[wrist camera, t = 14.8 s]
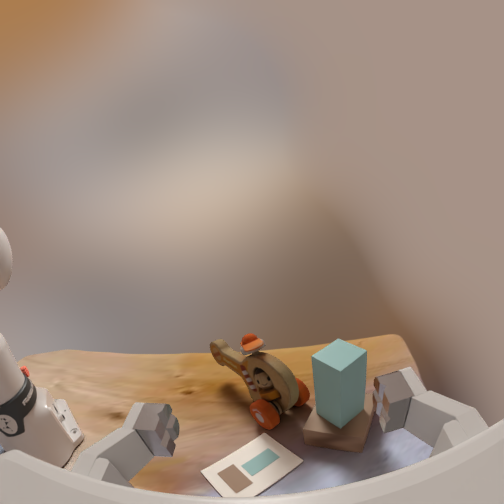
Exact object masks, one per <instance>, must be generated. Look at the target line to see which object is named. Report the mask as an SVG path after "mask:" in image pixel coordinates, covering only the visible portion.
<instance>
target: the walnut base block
mask: <svg viewBox="0 0 504 504" xmlns="http://www.w3.org/2000/svg"><path fill="white" fill-rule="evenodd" d="M372 398H373V394H367V393H365V400H364V409H363V410H362V411H361V412H360V413H359V414H357V415H356V416H355V417H354V418H353V419H352V420H350V421H349V422H348V423H347V424H346V425H344V426H343V427H342V428H341V429H340V428H338V427H337V426H335V425H334V424H332V423H331V422H329V421H328V420H326V419H325V418H323V417H322V416H320V415H319V414H317V413H316V404H315V406H314V408H313V410H312V412H311V414H310V416H309V418H308V420H307V422H306V423H305V425H304V427H303V435H304V442H305V444H306V445H311V446H317V447H323V448H329V449H335V450H342V451H350V452H359V453H362V451H363V448H364V445H365V442H366V439H367V435H368V432H369V429H370V425H371V422H372V418H373V415H374V411H375V410H374V406H373V399H372Z"/></svg>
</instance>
